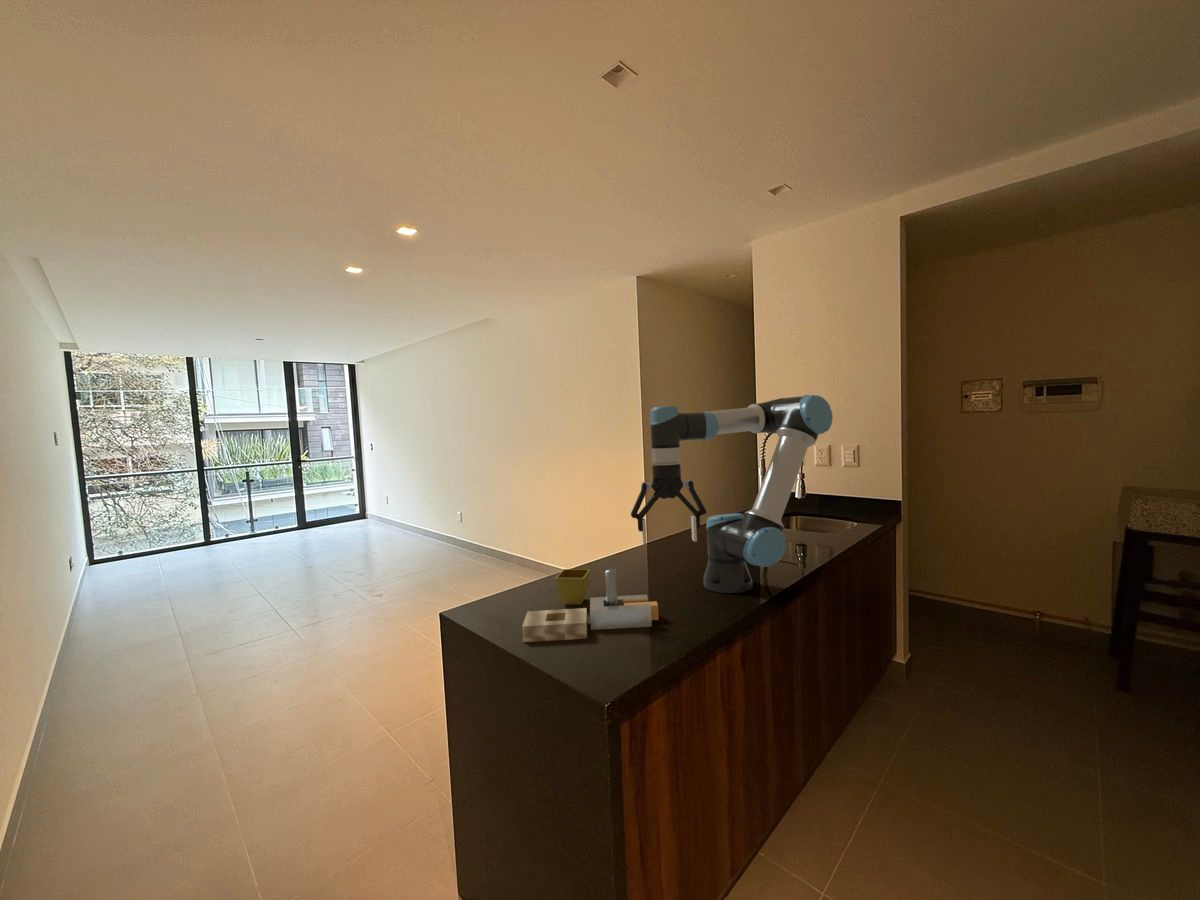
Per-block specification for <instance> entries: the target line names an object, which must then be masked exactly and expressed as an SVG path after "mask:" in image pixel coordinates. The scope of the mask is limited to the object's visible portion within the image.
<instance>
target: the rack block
mask: <svg viewBox="0 0 1200 900" xmlns="http://www.w3.org/2000/svg"><path fill="white" fill-rule="evenodd" d="M521 630H522V631H521V633H522V642H523V643H531V642H532V643H533V642H549V641H550V642H551V641H569V640H581V639H582V640H587V639H588V612H587V607H582V608H581V607H579V608H565V609H547V610H546V609H544V610H543V609H542V610H528V611H527V612H526V615H525V618H524V619H523V623H522V629H521Z"/></svg>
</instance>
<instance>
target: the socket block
mask: <svg viewBox="0 0 1200 900" xmlns="http://www.w3.org/2000/svg"><path fill="white" fill-rule="evenodd" d="M617 602H618V606H607V603H606V596H599V597H589V618H590V620H589V621H590V630H591V631H597V630H599V631H600V630H614V629H632V628H648V627H653V626H652V625H653V624H652V623H653V620H651V606H650V604H640V605H624V603H636V602H649V598H648V595H647V594H636V595H635V594H633V595H632V594H631V595H617Z"/></svg>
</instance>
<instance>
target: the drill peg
mask: <svg viewBox="0 0 1200 900" xmlns="http://www.w3.org/2000/svg"><path fill="white" fill-rule="evenodd" d="M604 580H605V583H604V584H605V597H606V603H607V606H618V602H617V596H618V589H617V588H618V587H617V585H618V584H617V569H615V568H607V569H605V570H604Z"/></svg>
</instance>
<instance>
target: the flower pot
mask: <svg viewBox="0 0 1200 900" xmlns="http://www.w3.org/2000/svg"><path fill="white" fill-rule="evenodd" d="M590 574H591V569H590V568H588V569H586V568H582V569H581V568H564V569H562V570H561V572H559V574H558V575H557V576H556V577H555V581H556V587H557V593H558V595H559V598H560V599H561V601H562V603H563V604H564V605H573V606H575V605H577V606H580V605H582V604H583V603H584V600H585V598H586V597H587V595H588V591H589V589H590V588H589V587H590V577H591V575H590Z"/></svg>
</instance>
